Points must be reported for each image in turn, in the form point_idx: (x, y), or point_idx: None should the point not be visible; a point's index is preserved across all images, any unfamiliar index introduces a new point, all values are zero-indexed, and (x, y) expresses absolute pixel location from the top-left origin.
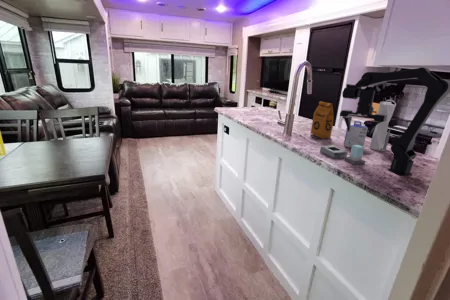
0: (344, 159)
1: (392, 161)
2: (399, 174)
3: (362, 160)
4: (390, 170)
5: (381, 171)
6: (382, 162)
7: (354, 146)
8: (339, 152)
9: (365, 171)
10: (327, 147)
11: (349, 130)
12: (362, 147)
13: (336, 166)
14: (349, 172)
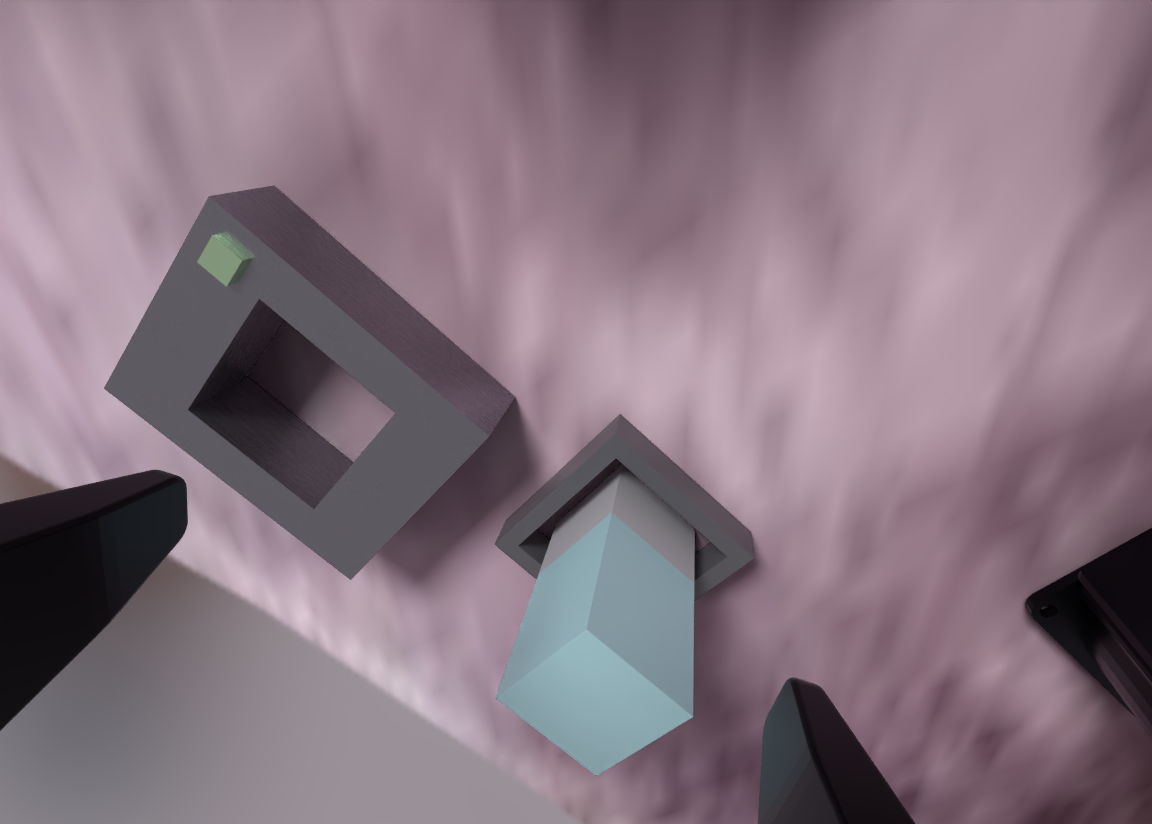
0: (505, 526)
1: (1138, 653)
2: (1122, 700)
3: (716, 544)
4: (1048, 631)
5: (919, 672)
6: (1051, 318)
7: (537, 724)
8: (398, 530)
9: (737, 735)
10: (194, 395)
11: (169, 493)
12: (663, 732)
13: (471, 726)
14: (594, 803)
